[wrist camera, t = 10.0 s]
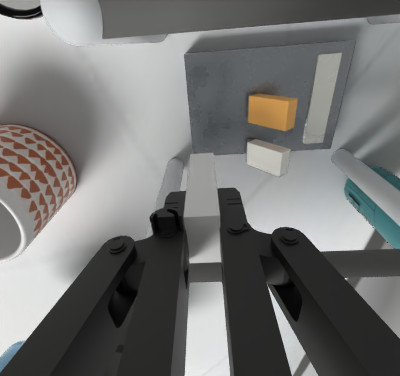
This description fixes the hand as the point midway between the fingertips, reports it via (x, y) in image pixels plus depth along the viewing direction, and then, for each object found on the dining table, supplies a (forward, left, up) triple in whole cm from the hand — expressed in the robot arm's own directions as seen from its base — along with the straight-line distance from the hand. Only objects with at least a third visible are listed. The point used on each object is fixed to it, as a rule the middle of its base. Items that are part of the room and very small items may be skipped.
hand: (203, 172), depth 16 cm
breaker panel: (+7, 0, -18) cm, 19 cm away
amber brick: (+5, 0, -15) cm, 16 cm away
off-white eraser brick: (+5, -5, -15) cm, 17 cm away
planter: (-27, -7, -18) cm, 33 cm away
